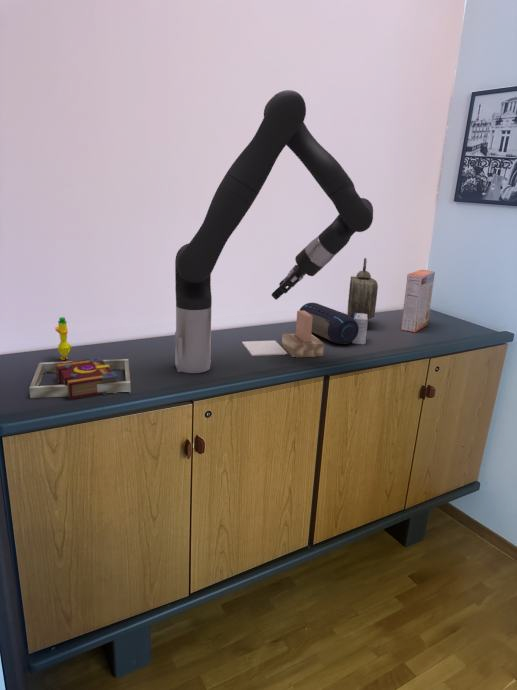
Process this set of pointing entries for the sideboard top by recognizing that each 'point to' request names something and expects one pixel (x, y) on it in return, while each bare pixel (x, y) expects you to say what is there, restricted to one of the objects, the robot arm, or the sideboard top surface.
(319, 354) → the plate holder
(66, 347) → the toy figure
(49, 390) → the display tray
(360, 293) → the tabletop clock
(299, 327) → the cover plate
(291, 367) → the sideboard top surface
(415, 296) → the cracker box
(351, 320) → the portable speaker
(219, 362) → the sideboard top surface
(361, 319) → the medicine box
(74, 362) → the decorative book
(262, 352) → the mat
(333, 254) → the robot arm
